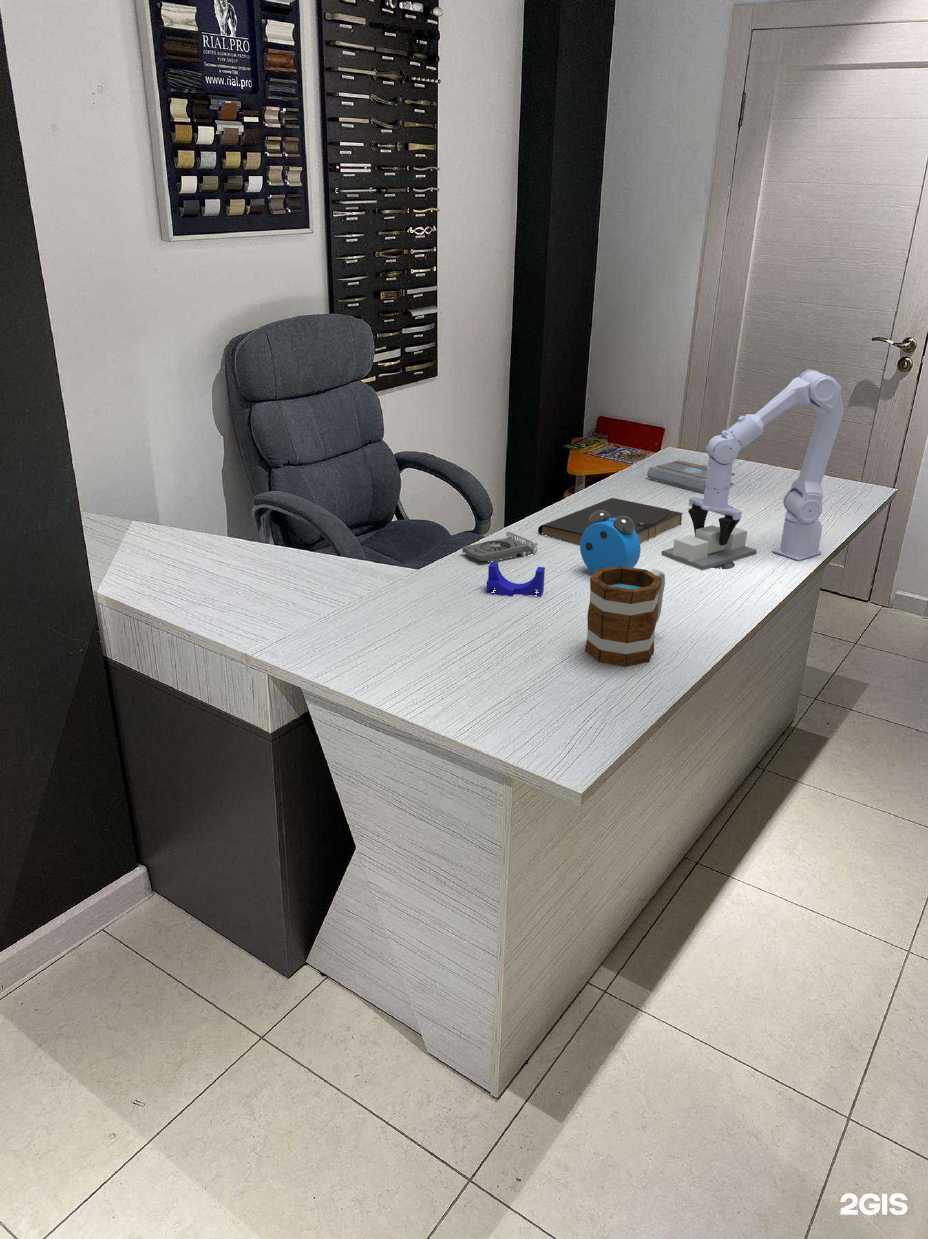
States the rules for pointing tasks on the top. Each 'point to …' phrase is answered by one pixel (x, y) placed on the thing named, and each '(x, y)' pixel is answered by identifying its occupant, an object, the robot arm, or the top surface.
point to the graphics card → (501, 548)
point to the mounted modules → (705, 545)
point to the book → (681, 475)
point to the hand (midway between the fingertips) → (710, 540)
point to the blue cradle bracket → (511, 588)
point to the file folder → (643, 516)
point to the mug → (623, 614)
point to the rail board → (714, 557)
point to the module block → (710, 537)
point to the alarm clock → (609, 542)
